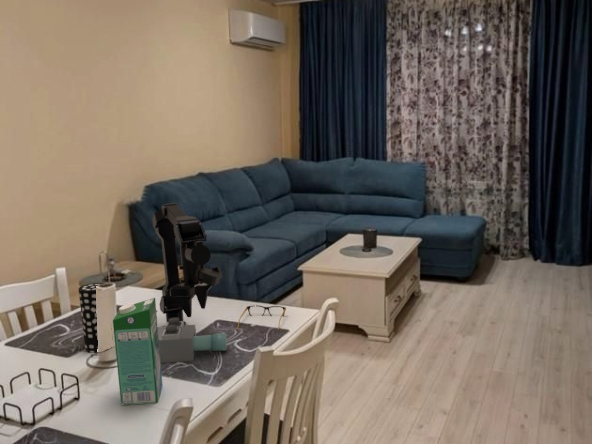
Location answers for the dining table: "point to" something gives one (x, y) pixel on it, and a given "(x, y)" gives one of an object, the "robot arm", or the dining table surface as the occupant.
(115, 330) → the milk carton
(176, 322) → the plunger
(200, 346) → the cartridge
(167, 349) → the housing
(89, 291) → the spotted tube
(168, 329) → the plunger
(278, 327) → the eyeglasses
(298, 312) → the dining table surface
